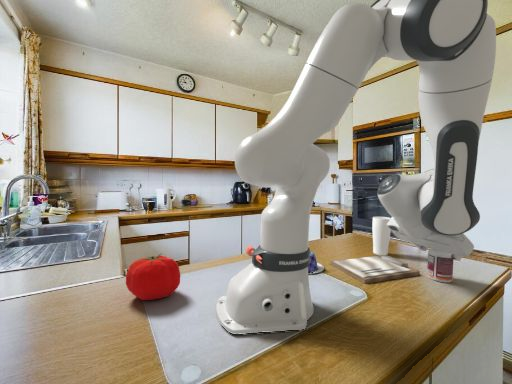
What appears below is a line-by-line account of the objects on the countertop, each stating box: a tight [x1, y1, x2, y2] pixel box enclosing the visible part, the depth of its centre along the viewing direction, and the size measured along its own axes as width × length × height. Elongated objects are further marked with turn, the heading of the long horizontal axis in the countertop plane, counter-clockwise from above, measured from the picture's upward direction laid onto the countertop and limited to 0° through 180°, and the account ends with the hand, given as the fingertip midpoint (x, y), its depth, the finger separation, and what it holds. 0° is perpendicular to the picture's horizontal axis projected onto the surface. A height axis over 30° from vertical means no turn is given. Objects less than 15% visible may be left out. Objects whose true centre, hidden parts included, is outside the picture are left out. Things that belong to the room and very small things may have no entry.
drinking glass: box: [371, 216, 392, 256], centre depth 95 cm, size 7×7×15 cm
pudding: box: [308, 251, 325, 274], centre depth 80 cm, size 12×12×5 cm
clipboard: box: [329, 255, 421, 284], centre depth 79 cm, size 22×16×2 cm
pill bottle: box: [426, 248, 454, 284], centre depth 72 cm, size 6×6×11 cm
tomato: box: [125, 252, 181, 301], centre depth 59 cm, size 11×13×10 cm
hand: (440, 253), depth 70 cm, fingers open, 8 cm apart
